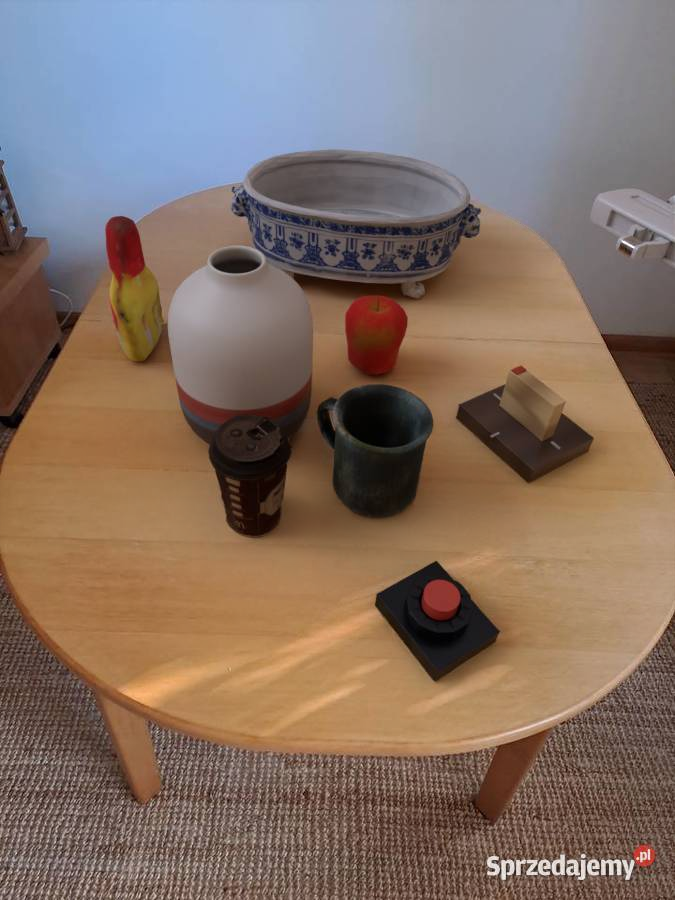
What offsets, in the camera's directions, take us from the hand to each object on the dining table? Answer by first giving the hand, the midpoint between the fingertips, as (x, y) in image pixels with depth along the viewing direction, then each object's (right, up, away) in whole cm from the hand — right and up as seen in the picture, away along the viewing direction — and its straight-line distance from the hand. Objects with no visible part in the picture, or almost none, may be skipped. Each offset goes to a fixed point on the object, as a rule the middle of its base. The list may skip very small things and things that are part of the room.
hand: (625, 249), depth 82 cm
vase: (-47, -21, +8) cm, 52 cm away
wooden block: (-10, -21, +6) cm, 24 cm away
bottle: (-64, -9, +18) cm, 67 cm away
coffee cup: (-45, -32, -3) cm, 55 cm away
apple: (-30, -12, +17) cm, 37 cm away
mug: (-32, -28, +1) cm, 43 cm away
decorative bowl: (-33, +9, +38) cm, 51 cm away
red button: (-25, -40, -15) cm, 49 cm away
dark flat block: (-11, -22, +8) cm, 26 cm away
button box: (-25, -42, -12) cm, 51 cm away
